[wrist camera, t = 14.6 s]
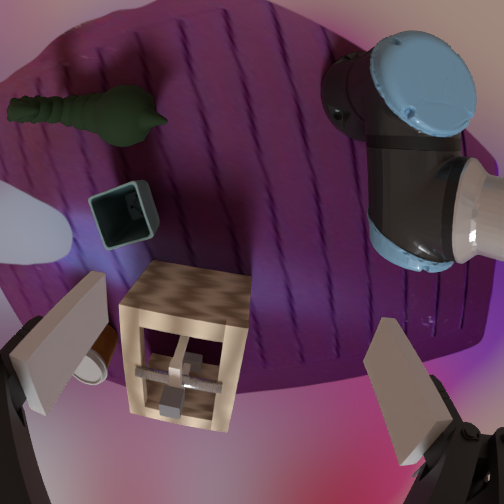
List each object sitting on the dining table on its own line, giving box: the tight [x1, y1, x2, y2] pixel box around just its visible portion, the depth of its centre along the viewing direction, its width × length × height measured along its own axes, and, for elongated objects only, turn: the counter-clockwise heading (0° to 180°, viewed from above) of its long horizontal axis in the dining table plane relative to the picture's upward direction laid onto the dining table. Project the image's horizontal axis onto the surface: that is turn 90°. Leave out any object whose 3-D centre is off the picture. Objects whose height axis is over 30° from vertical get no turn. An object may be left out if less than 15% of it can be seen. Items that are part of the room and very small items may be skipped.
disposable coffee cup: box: [73, 324, 118, 385], centre depth 57 cm, size 10×10×12 cm
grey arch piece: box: [159, 335, 203, 419], centre depth 47 cm, size 5×13×16 cm, turn 171°
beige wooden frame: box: [119, 260, 252, 432], centre depth 52 cm, size 18×24×17 cm
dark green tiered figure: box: [7, 85, 168, 147], centre depth 38 cm, size 9×19×25 cm
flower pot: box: [88, 180, 160, 250], centre depth 47 cm, size 9×9×9 cm
